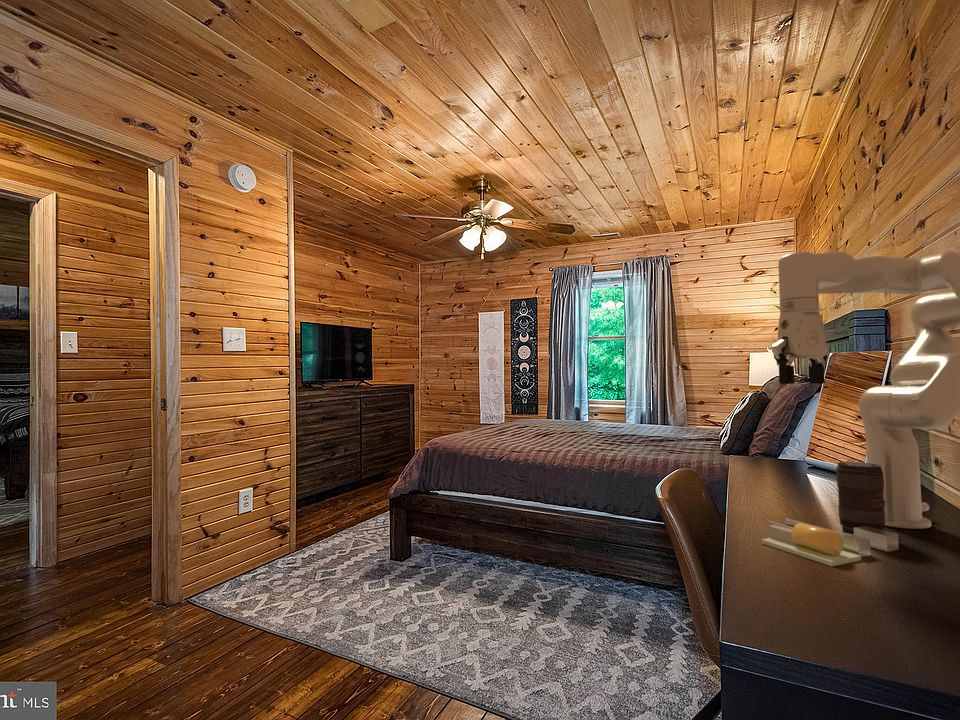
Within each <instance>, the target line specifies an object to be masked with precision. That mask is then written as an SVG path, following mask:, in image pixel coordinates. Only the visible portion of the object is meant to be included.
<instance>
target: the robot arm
mask: <svg viewBox="0 0 960 720" xmlns="http://www.w3.org/2000/svg"><path fill="white" fill-rule="evenodd" d="M777 264H778V265H777V266H778V287H779V288H778V291H779V292H778V293H779V318H778V328H777V329H778V330H777V342H775V343H773V344H772V345H771V348H770V349H771V351H772V354H773V359H774V361H776V365H777V367H778V379H779V380H778V381H779V382H778V383H779V384H780V385H794V384H795V365H792V364H793V363H794V361H795V359H805V358H806V360H807V361H808V363H809V366H808V382H809V384H811V385H812V384H813V385H814V384H815V385H817V384H819V385H820V384H823V385H824V384H825V366H826V361H827V359H828V354H829V350H830V348H829V346H827V341H826V332H825V325H824V320H823V317H822V313H820V298H819V297H820V294H821V295H822V294H823V295H825V294H826V295H827V294H829V295H830V294H867V293H876V294H877V293H878V294H881V293H882V294H897V295H916V294H917V295H918V294H924V293H931V292H937V291H943V290H949V289H950V291H944V292H938V293H933V294H929V295H925V296H923V297H920V298H918V299H916V301H915V302H913V305H912V306H911V309H910V318H911V319H910V320H911V322H912V326H913V329H914V334H915V337H914V338H915V340H914V342H913V343H912V344H911V346H910V347H909V348H908V350H907V351H906V352H905V353H904V355H903V356H902V357H901V358H900V359H899V360H898V361H897V363H896V364H895V366H894V367H893V368H892V370H891V372H890V376H889V381H890V384H891V385H890V384H887V385H878V386H873V387H870V388H868V389H866V390H865V391H864V392H862V394H861V395H860V398H859V400H858V408H859V409H858V410H859V413H860V417H861V420H862V424H863V427H864V435H865V450H866V451H865V452H866V463H872V464H878V465H881V469H882V472H883V478H884V491H883V499H884V500H885V506H884V511H885V524H884V527H885V526H886V527H887V526H888V527H891V528H900V529H911V530H912V529H913V530H916V529H917V530H924V529H928V528H931V527H932V521H931V520H930V519H929V518H927V517H924V516H923V512H926V511H929V509H930V505H929V504H928V503H927V502H925V501H924V502H923V501H922V489H921V470H920V467H921V466H920V451H919V445H918V441H917V439H916V438H915V436H914V435H913V433H912V431H910V429H918V430H919V429H920V430H940V429H942V428H945V427H947V426H948V425H950V423H951V422H953V420H955V418H956V417H957V415H959V413H960V345H959V344H958V342H957V341H956V339H955V338H954V337H953V336H952V334H951V333H950V332H949V329H948V328H949V327H959V326H960V253H959V252H955V251H944V252H939V253H934V254H930V255H926V256H921V257H915V258H913V257H912V258H911V257H895V256H887V255H886V256H885V255H883V256H882V255H877V256H876V255H875V256H868V257H862V258H857V259H856V258H854V257H853V256H852V255H851V254H849V253H847V252H844V251H831V252H821V253H813V252H810V251H800V252H799V251H798V252H793V253H788V254H785V255H783V256H781V257H780V258H779V260H778V263H777Z"/></svg>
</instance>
